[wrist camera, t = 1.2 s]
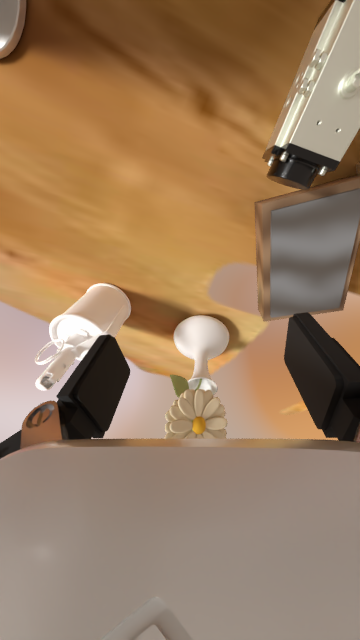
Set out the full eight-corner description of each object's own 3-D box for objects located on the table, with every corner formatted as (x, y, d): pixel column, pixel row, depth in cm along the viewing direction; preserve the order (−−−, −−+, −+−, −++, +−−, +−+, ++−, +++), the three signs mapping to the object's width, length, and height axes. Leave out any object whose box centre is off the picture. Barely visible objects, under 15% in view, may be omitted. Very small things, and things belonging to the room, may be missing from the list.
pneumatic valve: (345, 57, 20) (493, -79, 10) (281, 190, 26) (330, 190, 16) (296, 36, 19) (399, -128, 9) (243, 177, 26) (270, 168, 16)
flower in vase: (236, 342, 41) (273, 492, 21) (191, 359, 46) (183, 499, 25) (209, 294, 36) (221, 436, 15) (159, 318, 40) (115, 456, 19)
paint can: (102, 327, 42) (40, 413, 26) (76, 290, 38) (-20, 368, 21) (144, 314, 40) (104, 403, 23) (122, 274, 35) (52, 348, 19)
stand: (254, 202, 27) (263, 204, 23) (352, 176, 25) (379, 173, 21) (258, 309, 37) (264, 323, 33) (329, 298, 34) (345, 312, 30)
